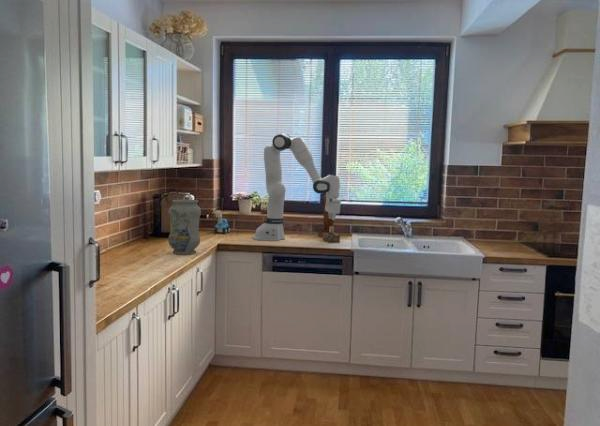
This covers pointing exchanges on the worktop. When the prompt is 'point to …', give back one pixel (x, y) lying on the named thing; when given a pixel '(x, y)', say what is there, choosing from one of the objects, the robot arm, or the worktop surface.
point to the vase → (184, 226)
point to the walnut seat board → (331, 237)
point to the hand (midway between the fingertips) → (331, 219)
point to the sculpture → (326, 221)
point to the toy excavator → (221, 224)
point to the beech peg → (331, 230)
